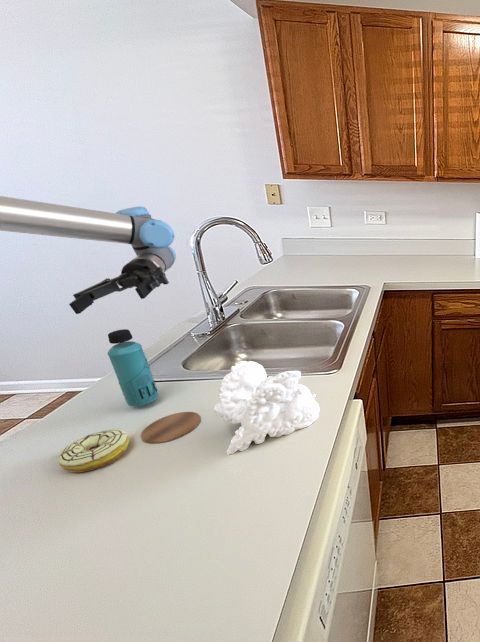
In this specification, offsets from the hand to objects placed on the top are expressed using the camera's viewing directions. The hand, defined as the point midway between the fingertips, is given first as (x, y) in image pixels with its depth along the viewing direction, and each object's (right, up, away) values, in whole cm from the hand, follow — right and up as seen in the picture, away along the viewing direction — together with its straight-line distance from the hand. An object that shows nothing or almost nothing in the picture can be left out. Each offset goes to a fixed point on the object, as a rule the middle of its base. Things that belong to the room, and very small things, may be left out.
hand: (107, 301), depth 94 cm
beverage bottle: (+5, -26, +5) cm, 27 cm away
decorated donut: (+10, -33, -12) cm, 36 cm away
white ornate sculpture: (+41, -30, -4) cm, 51 cm away
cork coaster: (+18, -29, -3) cm, 34 cm away
